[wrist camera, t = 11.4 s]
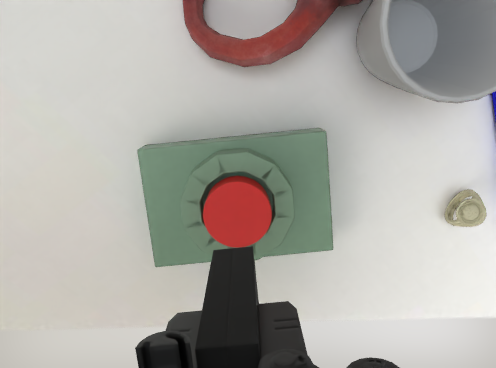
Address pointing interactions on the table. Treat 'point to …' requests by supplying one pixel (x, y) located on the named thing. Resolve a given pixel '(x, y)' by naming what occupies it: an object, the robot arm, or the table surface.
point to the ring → (466, 210)
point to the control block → (238, 164)
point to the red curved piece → (270, 44)
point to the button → (237, 211)
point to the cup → (431, 47)
